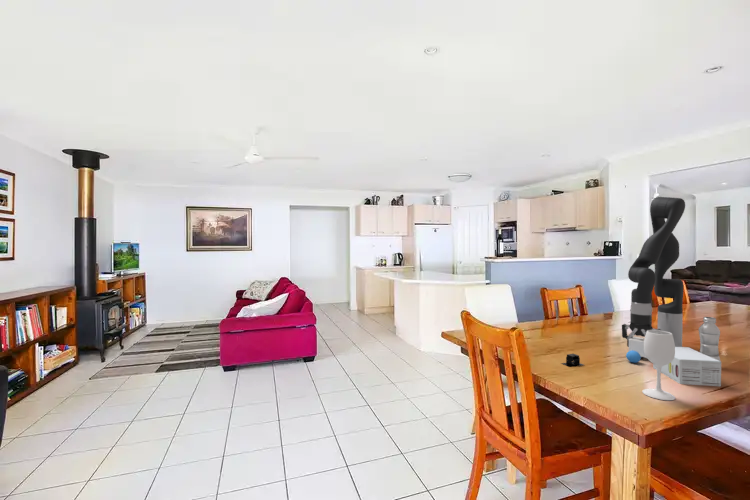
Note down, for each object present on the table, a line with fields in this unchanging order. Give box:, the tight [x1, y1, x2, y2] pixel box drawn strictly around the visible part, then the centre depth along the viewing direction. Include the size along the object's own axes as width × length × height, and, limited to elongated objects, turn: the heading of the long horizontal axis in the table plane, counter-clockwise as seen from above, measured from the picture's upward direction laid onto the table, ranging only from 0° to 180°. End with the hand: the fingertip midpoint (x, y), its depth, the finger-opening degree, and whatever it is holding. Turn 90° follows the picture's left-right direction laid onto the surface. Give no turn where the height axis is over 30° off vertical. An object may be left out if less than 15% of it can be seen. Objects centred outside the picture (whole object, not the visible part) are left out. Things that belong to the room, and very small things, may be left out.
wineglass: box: [641, 330, 677, 401], centre depth 119 cm, size 9×9×21 cm
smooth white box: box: [628, 336, 647, 359], centre depth 157 cm, size 7×7×7 cm
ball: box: [625, 350, 642, 364], centre depth 151 cm, size 5×5×5 cm
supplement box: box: [652, 346, 722, 387], centre depth 135 cm, size 17×13×9 cm
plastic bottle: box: [698, 316, 721, 361], centre depth 146 cm, size 6×7×20 cm
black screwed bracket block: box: [560, 353, 585, 368], centre depth 150 cm, size 12×7×5 cm, turn 107°
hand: (640, 350), depth 157 cm, fingers closed on smooth white box, 7 cm apart
